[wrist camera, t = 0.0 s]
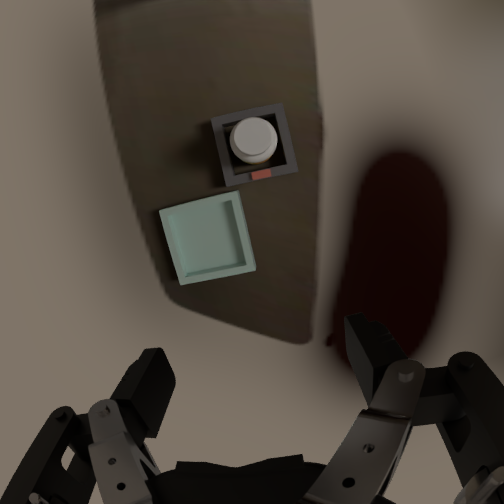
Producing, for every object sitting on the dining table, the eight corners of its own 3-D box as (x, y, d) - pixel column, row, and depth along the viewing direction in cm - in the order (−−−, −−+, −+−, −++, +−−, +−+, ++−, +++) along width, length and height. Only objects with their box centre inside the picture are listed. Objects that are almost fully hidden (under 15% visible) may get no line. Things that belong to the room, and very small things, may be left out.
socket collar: (213, 121, 36) (209, 117, 33) (280, 107, 35) (282, 101, 32) (228, 186, 38) (226, 187, 35) (295, 171, 37) (298, 171, 35)
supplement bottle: (234, 165, 37) (226, 162, 28) (234, 126, 36) (226, 112, 27) (274, 165, 37) (279, 162, 28) (274, 126, 36) (279, 111, 27)
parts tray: (164, 208, 39) (158, 210, 37) (238, 189, 38) (237, 190, 36) (184, 279, 42) (180, 285, 40) (255, 264, 41) (255, 270, 39)
